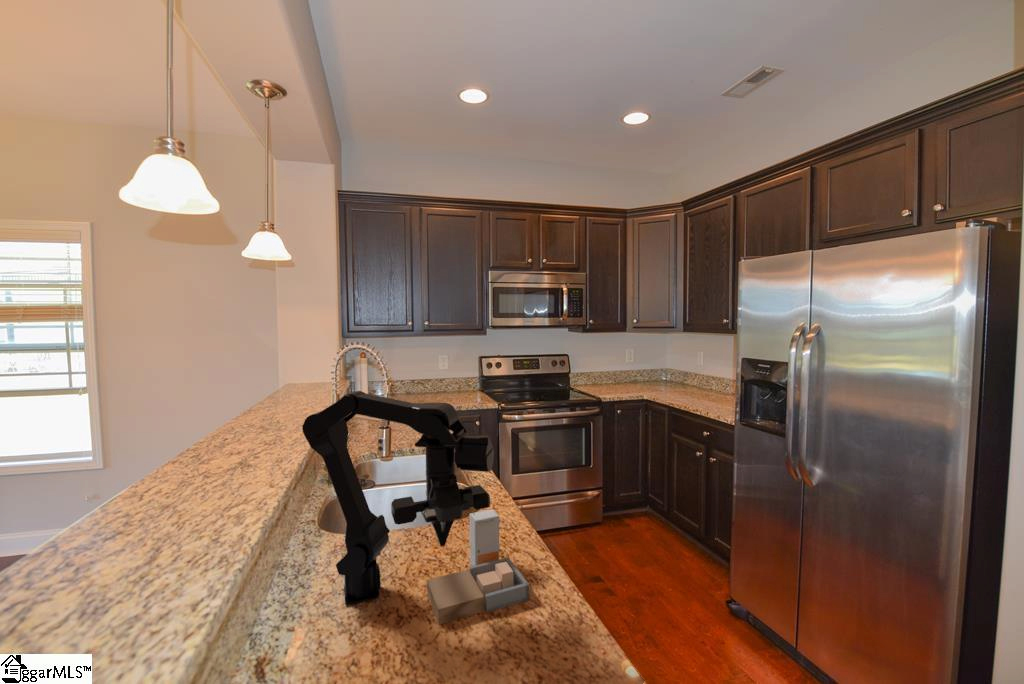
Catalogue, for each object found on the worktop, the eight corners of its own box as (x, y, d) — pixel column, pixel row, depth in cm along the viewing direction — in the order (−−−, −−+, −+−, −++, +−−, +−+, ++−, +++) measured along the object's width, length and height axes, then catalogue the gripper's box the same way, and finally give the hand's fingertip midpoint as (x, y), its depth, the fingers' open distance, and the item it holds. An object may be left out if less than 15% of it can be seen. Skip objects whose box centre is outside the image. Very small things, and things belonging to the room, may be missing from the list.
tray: (486, 612, 84) (486, 596, 83) (469, 581, 94) (469, 566, 93) (529, 599, 87) (529, 584, 87) (508, 571, 97) (508, 557, 97)
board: (438, 625, 80) (438, 609, 80) (427, 593, 89) (426, 579, 89) (484, 611, 84) (484, 596, 84) (468, 582, 93) (468, 569, 93)
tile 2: (502, 574, 88) (513, 571, 89) (495, 564, 92) (506, 561, 93) (502, 593, 88) (513, 590, 89) (495, 582, 92) (506, 579, 93)
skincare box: (475, 573, 97) (474, 520, 96) (469, 563, 101) (468, 513, 100) (500, 566, 99) (499, 515, 98) (493, 557, 103) (493, 508, 102)
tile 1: (482, 597, 87) (482, 585, 87) (476, 586, 91) (476, 575, 91) (501, 592, 89) (501, 581, 88) (494, 582, 92) (494, 570, 92)
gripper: (398, 490, 74) (400, 578, 75) (499, 474, 81) (500, 555, 82) (389, 470, 84) (392, 548, 85) (480, 457, 92) (481, 529, 92)
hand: (442, 545), depth 86 cm, fingers closed
